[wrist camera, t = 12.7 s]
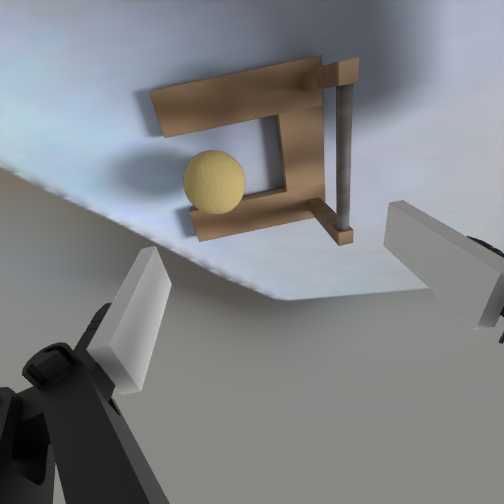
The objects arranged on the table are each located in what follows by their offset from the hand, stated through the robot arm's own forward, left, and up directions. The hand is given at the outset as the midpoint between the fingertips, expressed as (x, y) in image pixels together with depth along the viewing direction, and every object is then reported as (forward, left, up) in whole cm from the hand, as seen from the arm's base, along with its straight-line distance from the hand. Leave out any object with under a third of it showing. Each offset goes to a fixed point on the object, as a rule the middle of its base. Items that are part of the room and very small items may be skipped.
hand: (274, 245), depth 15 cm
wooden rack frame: (-1, +1, -21) cm, 21 cm away
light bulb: (0, -4, -22) cm, 22 cm away
